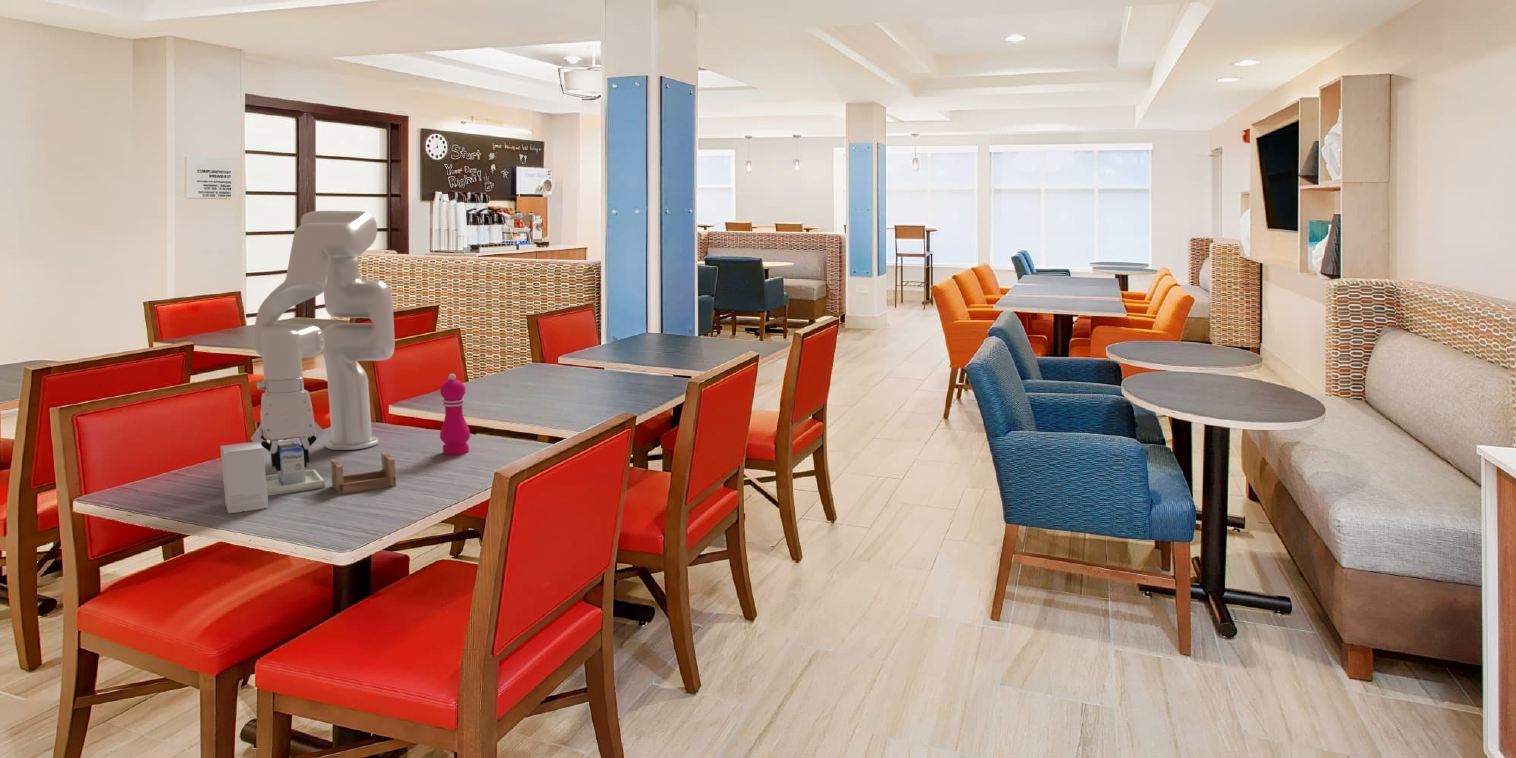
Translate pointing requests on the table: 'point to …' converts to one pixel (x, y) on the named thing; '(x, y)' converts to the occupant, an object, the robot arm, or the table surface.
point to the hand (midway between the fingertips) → (290, 467)
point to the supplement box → (244, 477)
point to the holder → (364, 477)
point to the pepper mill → (454, 418)
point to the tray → (311, 482)
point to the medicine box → (291, 463)
